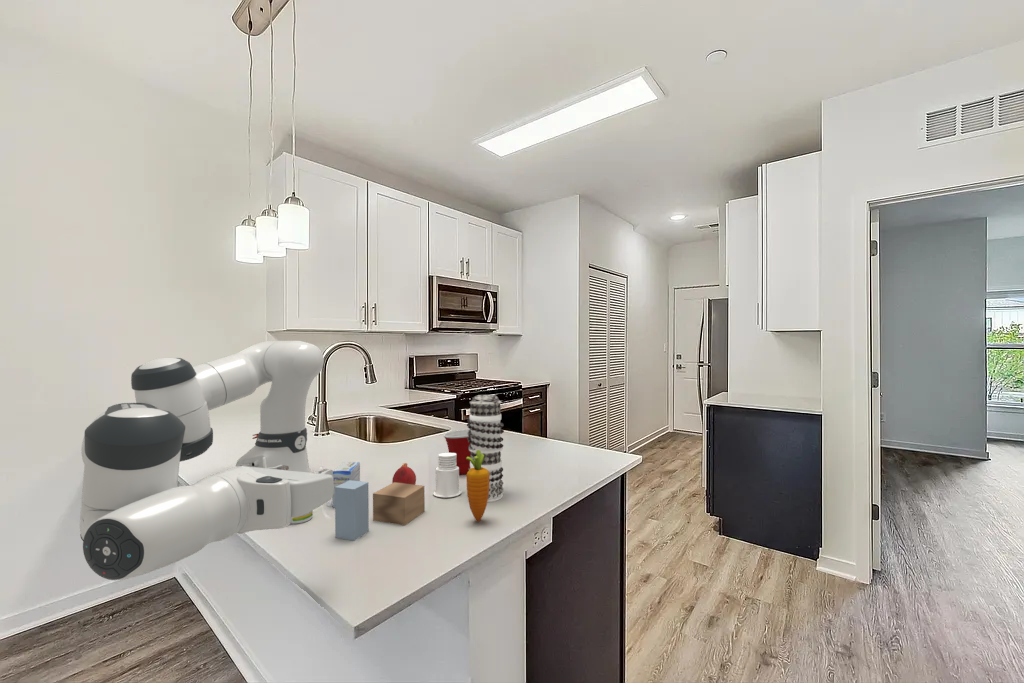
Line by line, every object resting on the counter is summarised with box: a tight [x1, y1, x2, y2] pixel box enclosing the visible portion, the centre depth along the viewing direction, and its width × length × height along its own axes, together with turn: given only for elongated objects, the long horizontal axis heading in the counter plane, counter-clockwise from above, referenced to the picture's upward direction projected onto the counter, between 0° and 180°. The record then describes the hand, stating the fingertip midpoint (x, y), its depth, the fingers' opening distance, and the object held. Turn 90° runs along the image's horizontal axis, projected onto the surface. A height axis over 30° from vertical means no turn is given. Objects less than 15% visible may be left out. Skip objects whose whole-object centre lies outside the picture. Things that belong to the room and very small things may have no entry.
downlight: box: [432, 452, 462, 499], centre depth 113 cm, size 8×7×10 cm
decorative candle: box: [466, 394, 505, 503], centre depth 110 cm, size 9×9×25 cm
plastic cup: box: [442, 428, 471, 476], centre depth 131 cm, size 11×11×12 cm
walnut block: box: [372, 482, 426, 526], centre depth 98 cm, size 8×8×6 cm
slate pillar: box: [334, 480, 370, 542], centre depth 89 cm, size 4×4×10 cm
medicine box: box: [331, 461, 361, 509], centre depth 107 cm, size 8×4×9 cm, turn 5°
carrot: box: [465, 450, 489, 523], centre depth 95 cm, size 5×5×15 cm
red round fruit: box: [391, 462, 417, 485], centre depth 112 cm, size 6×6×8 cm
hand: (307, 471), depth 77 cm, fingers open, 8 cm apart
